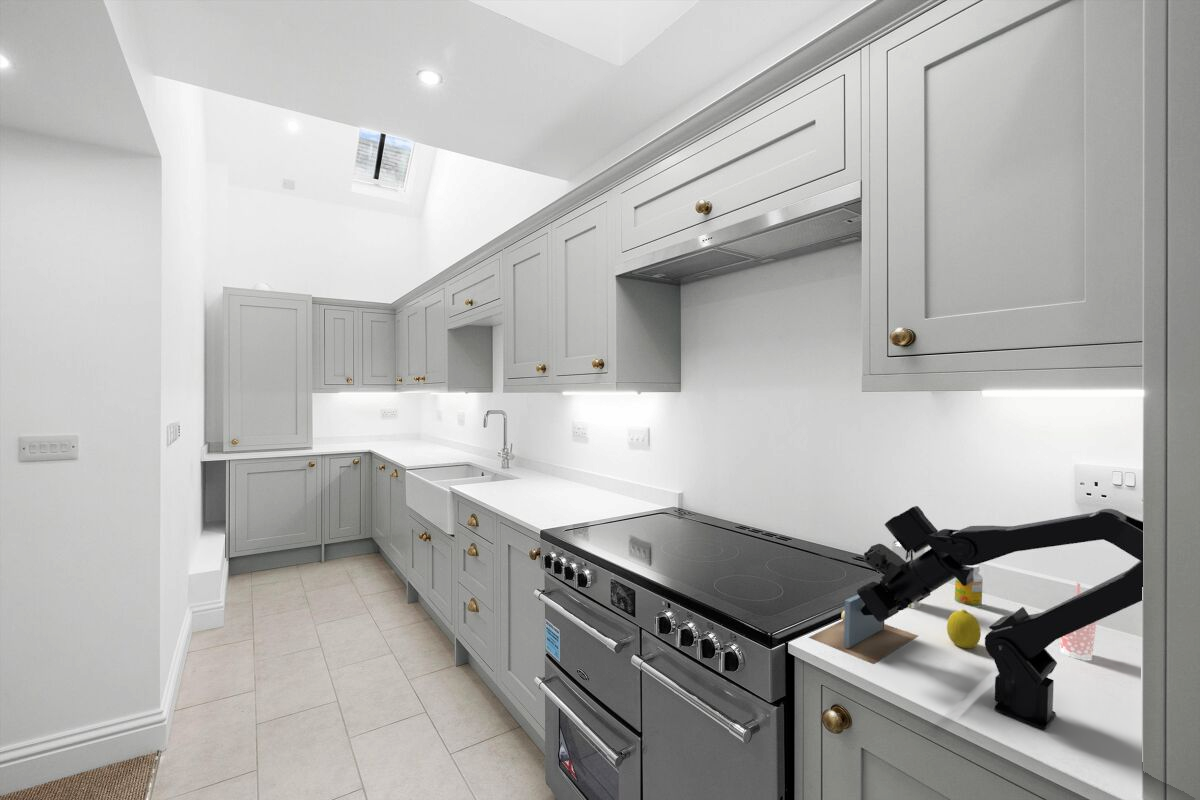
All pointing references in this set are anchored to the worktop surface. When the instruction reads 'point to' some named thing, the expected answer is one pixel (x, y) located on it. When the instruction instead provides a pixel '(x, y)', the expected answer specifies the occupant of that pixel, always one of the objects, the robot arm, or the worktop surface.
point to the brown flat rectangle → (866, 642)
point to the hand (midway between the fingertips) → (862, 612)
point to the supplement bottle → (970, 590)
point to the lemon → (963, 629)
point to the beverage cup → (1079, 640)
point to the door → (858, 622)
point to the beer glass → (907, 557)
